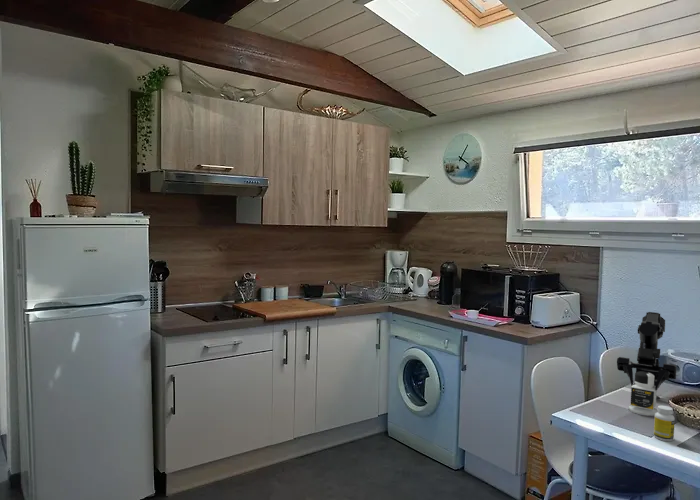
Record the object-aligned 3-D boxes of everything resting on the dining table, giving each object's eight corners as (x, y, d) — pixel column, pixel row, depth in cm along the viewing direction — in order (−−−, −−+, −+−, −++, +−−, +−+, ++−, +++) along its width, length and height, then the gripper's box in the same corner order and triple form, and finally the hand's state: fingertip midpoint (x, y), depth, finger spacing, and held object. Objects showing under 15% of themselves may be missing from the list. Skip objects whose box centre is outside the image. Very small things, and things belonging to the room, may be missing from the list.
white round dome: (623, 406, 187) (623, 403, 187) (648, 407, 187) (648, 404, 187) (636, 415, 178) (636, 412, 178) (662, 416, 178) (662, 413, 178)
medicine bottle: (630, 405, 182) (631, 372, 181) (633, 400, 188) (635, 368, 187) (653, 410, 178) (654, 376, 177) (656, 405, 183) (657, 372, 183)
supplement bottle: (673, 443, 155) (675, 411, 155) (653, 439, 158) (654, 408, 158) (673, 437, 160) (675, 406, 159) (653, 433, 163) (655, 403, 162)
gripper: (618, 335, 190) (613, 371, 182) (677, 342, 180) (674, 381, 171) (620, 352, 197) (615, 387, 189) (677, 360, 186) (674, 397, 178)
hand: (643, 387), depth 181 cm, fingers closed on medicine bottle, 7 cm apart
